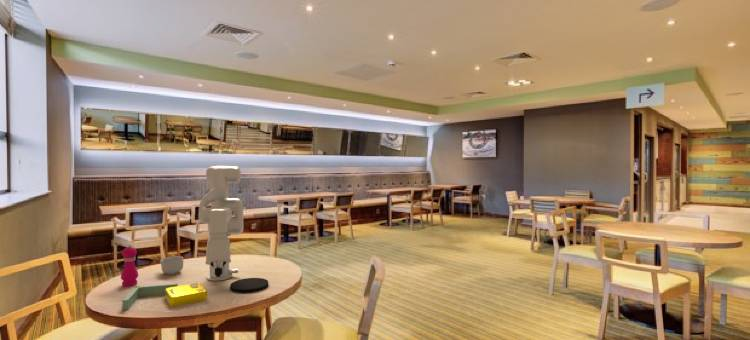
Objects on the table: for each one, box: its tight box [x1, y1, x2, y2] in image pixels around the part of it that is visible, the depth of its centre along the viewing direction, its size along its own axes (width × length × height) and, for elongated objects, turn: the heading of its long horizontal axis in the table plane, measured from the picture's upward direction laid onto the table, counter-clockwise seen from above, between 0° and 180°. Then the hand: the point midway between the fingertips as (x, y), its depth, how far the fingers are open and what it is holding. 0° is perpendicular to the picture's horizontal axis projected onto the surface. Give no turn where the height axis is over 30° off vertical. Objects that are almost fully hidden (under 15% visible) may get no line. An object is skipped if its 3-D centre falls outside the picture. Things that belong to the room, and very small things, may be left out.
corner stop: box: [121, 282, 179, 311], centre depth 166 cm, size 17×18×4 cm
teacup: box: [159, 255, 184, 276], centre depth 207 cm, size 14×11×8 cm
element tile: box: [164, 282, 208, 307], centre depth 169 cm, size 15×15×5 cm
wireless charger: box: [229, 277, 269, 294], centre depth 185 cm, size 18×18×2 cm
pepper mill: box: [120, 244, 139, 288], centre depth 186 cm, size 7×7×20 cm
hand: (218, 276), depth 172 cm, fingers closed
